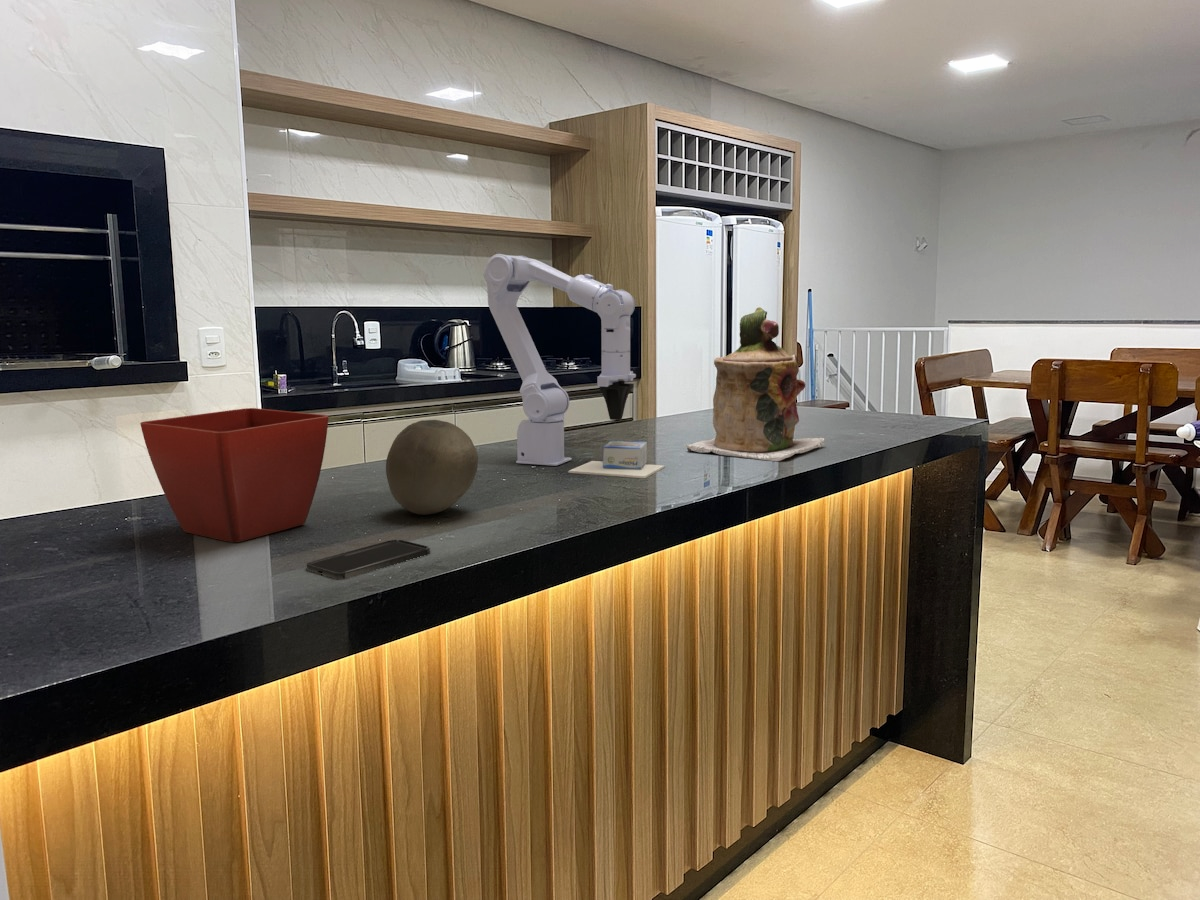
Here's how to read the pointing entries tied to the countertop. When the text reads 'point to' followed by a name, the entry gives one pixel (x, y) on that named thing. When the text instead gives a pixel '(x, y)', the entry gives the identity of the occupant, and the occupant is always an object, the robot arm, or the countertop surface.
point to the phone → (367, 559)
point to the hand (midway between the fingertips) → (615, 419)
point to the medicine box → (625, 454)
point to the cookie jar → (756, 398)
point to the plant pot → (238, 469)
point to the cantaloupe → (431, 466)
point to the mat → (616, 470)
